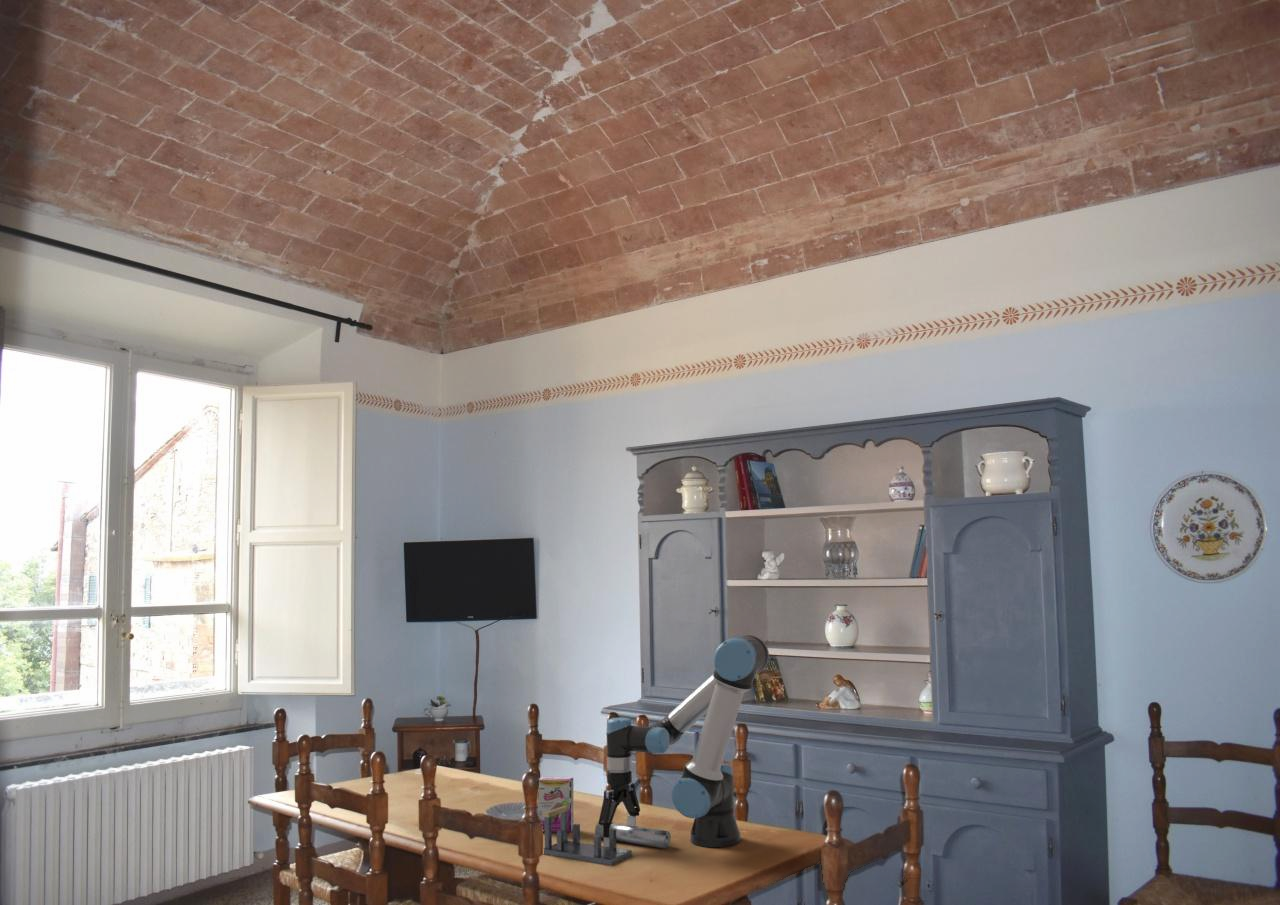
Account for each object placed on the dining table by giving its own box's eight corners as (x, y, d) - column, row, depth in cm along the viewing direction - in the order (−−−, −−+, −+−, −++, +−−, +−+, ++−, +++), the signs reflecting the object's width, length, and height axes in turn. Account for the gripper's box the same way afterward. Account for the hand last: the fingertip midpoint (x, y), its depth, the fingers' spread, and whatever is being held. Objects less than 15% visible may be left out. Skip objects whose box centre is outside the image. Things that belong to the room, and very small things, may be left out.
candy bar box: (536, 833, 322) (536, 779, 324) (539, 829, 327) (539, 776, 329) (571, 833, 321) (571, 779, 323) (574, 829, 326) (573, 776, 328)
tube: (666, 852, 301) (672, 837, 305) (660, 842, 299) (666, 826, 302) (599, 841, 314) (606, 827, 318) (592, 832, 311) (599, 817, 315)
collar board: (631, 855, 294) (631, 814, 296) (610, 865, 285) (610, 822, 286) (564, 845, 307) (564, 805, 308) (542, 854, 298) (542, 813, 299)
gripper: (630, 762, 322) (631, 832, 320) (586, 776, 302) (586, 851, 299) (650, 764, 319) (651, 835, 316) (607, 778, 298) (608, 854, 295)
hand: (620, 843), depth 308 cm, fingers open, 12 cm apart
